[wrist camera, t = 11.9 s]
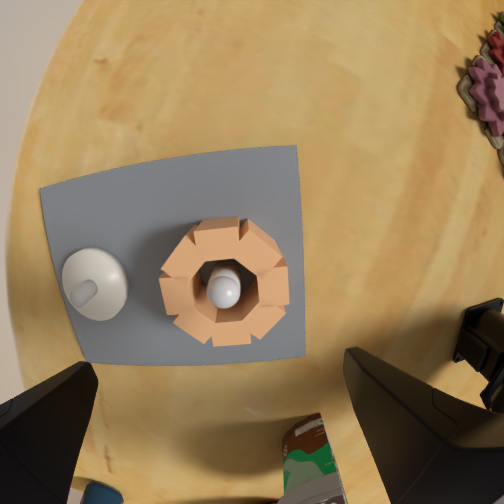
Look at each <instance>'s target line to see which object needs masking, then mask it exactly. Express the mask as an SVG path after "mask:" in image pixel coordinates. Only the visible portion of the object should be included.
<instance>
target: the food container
mask: <svg viewBox="0 0 504 504" xmlns="http://www.w3.org/2000/svg"><path fill="white" fill-rule="evenodd" d="M282 449H283V476H284V496H282V497H281V498H280V500H279V501H278V503H277V504H348V502H347V498H346V495H345V491H344V488H343V484H342V481H341V477H340V474H339V470H338V467H337V463H336V460H335V457H334V453H333V450H332V447H331V444H330V441H329V438H328V435H327V432H326V429H325V426H324V423H323V420H322V417H321V414H320V413H318V414H315V415H312V416H310V417H308V418H306V419H304V420H302V421H301V422H299V423H297V424H295V425H294V426H293V427H292V428H291V429H290V430H289V431H287V433H286V434H285V436H284V438H283V440H282Z"/></svg>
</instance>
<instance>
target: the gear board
mask: <svg viewBox="0 0 504 504" xmlns="http://www.w3.org/2000/svg"><path fill="white" fill-rule="evenodd" d="M40 194H41V201H42V208H43V215H44V221H45V227H46V232H47V237H48V242H49V247H50V251H51V255H52V260H53V264H54V268H55V272H56V275H57V279H58V283H59V286H60V289H61V293H62V296H63V299H64V302H65V306H66V309H67V312H68V314H69V317H70V320H71V323H72V326H73V328H74V331H75V334H76V336H77V339H78V341H79V344H80V346H81V349H82V351H83V354H84V356H85V358H86V361H87V362H89V363H100V364H115V365H138V366H197V365H221V364H237V363H250V362H261V361H271V360H280V359H289V358H297V357H304V356H305V283H304V252H303V229H302V211H301V195H300V180H299V167H298V155H297V145H293V146H274V147H260V148H247V149H237V150H227V151H218V152H210V153H202V154H194V155H187V156H180V157H174V158H168V159H162V160H156V161H151V162H145V163H140V164H135V165H130V166H125V167H120V168H116V169H111V170H107V171H102V172H98V173H94V174H90V175H86V176H82V177H78V178H75V179H71V180H67V181H64V182H60V183H57V184H53V185H50V186H47V187H43V188H40ZM232 216H239V222H240V227H241V226H242V225H243V224H244V222H245V221H246V220H247V219H249V220H250V221H252V222H253V223H254V224H255V225H257V226H258V227H259V228H260V229H262V230H263V231H264V232H265V233H266V234H268V235H269V236H270V237H271V238H273V239H274V240H275V241H276V244H277V246H278V248H279V249H280V251H281V253H282V255H283V258H284V260H285V262H286V264H287V267H288V284H289V305H284V308H285V312H286V314H285V315H284V316H283V317H282V318H281V319H280V320H279V321H278V322H277V323H276V324H275V325H274V326H273V327H272V328H271V329H270V330H269V331H268V332H267V333H266V334H265V335H264V336H263V337H262V338H261V339H258V338H257V337H255V336H254V335H252V334H251V344H242V345H230V346H215V347H214V346H213V341H212V336H211V337H210V338H209V339H208V340H207V341H206V343H205V344H203V343H202V342H200V341H199V340H197V339H196V338H194V337H193V336H191V335H190V334H188V333H187V332H185V331H184V330H182V329H181V328H179V327H178V326H176V325H175V324H174V323H173V321H174V319H175V316H176V315H167V313H166V308H165V304H164V300H163V296H162V291H161V287H160V282H159V278H160V276H161V275H162V274H163V272H164V271H163V270H161V268H162V266H163V265H164V264H165V262H166V261H167V259H168V258H169V257H170V255H171V254H172V253H173V251H174V250H175V248H176V247H177V246H178V244H179V243H180V242H181V240H182V239H183V238H184V236H185V235H186V234H187V233H188V232H189V231H190V230H191V229H192V227H193V226H194V225H195V224H196V225H197V226H198V225H199V224H200V223H201V222H202V221H203V220H205V219H214V218H223V217H232ZM199 270H200V276H201V282H202V284H203V285H205V286H206V287H207V297H208V299H209V301H210V302H211V304H213V305H214V306H215V307H218V308H222V309H225V308H229V307H232V306H233V305H234V304H236V302H237V301H238V299H239V297H240V295H242V294H243V293H244V292H245V291H246V290H247V288H248V287H249V286H250V285H251V284H252V283H253V282H254V281H255V279H256V275H255V274H254V273H253V272H251V271H250V270H249V269H247V268H246V267H245V266H243V265H242V264H241V263H239V262H238V261H237V260H236V259H224V260H214V261H205V262H204V263H203V265H202V266H201V267H200V268H199Z"/></svg>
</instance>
